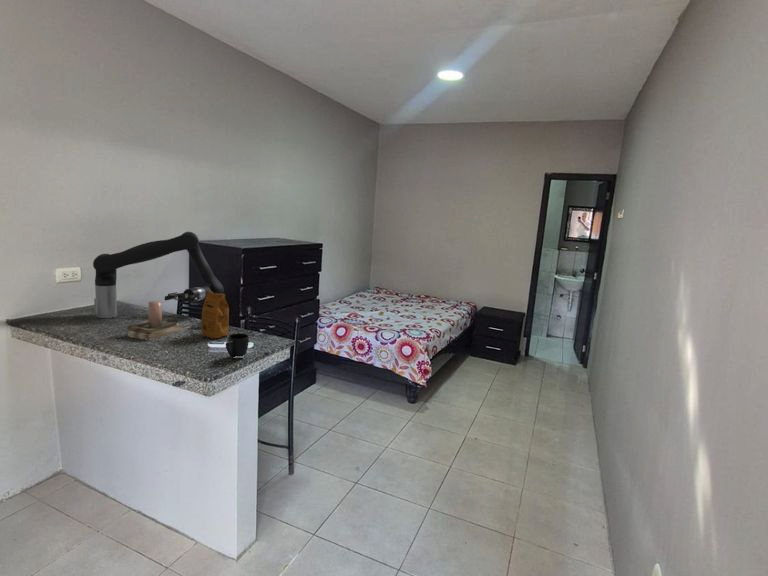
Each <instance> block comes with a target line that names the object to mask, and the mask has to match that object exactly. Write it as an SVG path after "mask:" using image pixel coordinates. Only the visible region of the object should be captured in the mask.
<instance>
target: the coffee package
mask: <svg viewBox="0 0 768 576" xmlns="http://www.w3.org/2000/svg"><path fill="white" fill-rule="evenodd" d="M226 296H227V295H226V294H225V293H223V294H217V293H215V294H214V293H213V292H211V291H208V294H207V296H206V299H204V303H203V306H202V310H201V312H202V313H201V319H200V320H201V321H200V324H201V336H204V335H205V336H206V337H207V338H208V337H210V338H209V339H214V338H215V340H217V339H216V338H218V339H219V338H221V337H225V336H227V335H228V336H229V322H230V321H229V318H230V314H229V313H230V306H229V304H228V302H227V300H226V298H225V297H226Z"/></svg>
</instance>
